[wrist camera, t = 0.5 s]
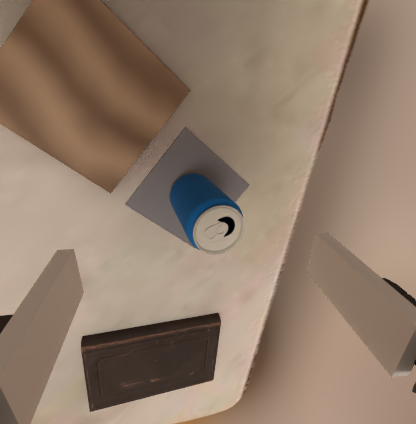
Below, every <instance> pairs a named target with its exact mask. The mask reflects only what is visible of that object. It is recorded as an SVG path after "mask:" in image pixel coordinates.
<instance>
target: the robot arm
mask: <svg viewBox="0 0 416 424" xmlns="http://www.w3.org/2000/svg"><path fill="white" fill-rule="evenodd" d="M307 273H308V274H309V275H310V276H311V278H312V279H313V280H314V281H315V283H316V284H317V285H318V286H319V288H320V289H321V290H322V291H323V293H324V294H325V295H326V296H327V298H328V299H329V300H330V301H331V302H332V304H333V305H334V306H335V307H336V309H337V310H338V311H339V312H340V314H341V315H342V316H343V317H344V319H345V320H346V321H347V322H348V324H349V325H350V326H351V327H352V329H353V330H354V331H355V332H356V334H357V335H358V336H359V337H360V339H361V340H362V341H363V342H364V344H365V345H366V346H367V347H368V349H369V350H370V351H371V352H372V353H373V355H374V356H375V357H376V358H377V360H378V361H379V362H380V363H381V365H382V366H383V367H384V368H385V370H386V371H387V372H388V373H389V375H390V376H391V377H398V376H404V375H409V374H410V372H411V370H412V368H413V366H414V364H415V365H416V301H415V299H414V298H413V297H412V296H411V295H408V294H407V292H405V291H404V290H403V289H402V288H401V287H400V286H398V285H397V284H395V283H393V282H391V281H390V280H388V279H386V278H381V277H380V276H378V275H377V274H376V273H375V272H374V271H373V270H371V269H370V268H369V267H368V266H367V265H365V264H364V263H363V262H362V261H361V260H360V259H358V258H357V257H356V256H355V255H353V254H352V253H351V252H350V251H349V250H348V249H346V248H345V247H344V246H343V245H342V244H341V243H339V242H338V241H337V240H336V239H334V238H333V237H332V236H331V235H330V234H329V233H316V234H315V239H314V243H313V247H312V252H311V256H310V261H309V266H308V270H307ZM83 293H84V291H83V287H82V282H81V278H80V274H79V269H78V265H77V261H76V256H75V252H74V249H68V250H57V252H56V253H55V255H54V256H53V257H52V259H51V260H50V262H49V263H48V265H47V266H46V268H45V269H44V271H43V272H42V274H41V275H40V277H39V278H38V279H37V281H36V282H35V284H34V285H33V287H32V288H31V290H30V291H29V293H28V294H27V296H26V297H25V299H24V300H23V301H22V303H21V304H20V306H19V307H18V309H17V310H16V312H15V313H14V315H4V316H0V424H30V423H31V421H32V419H33V416H34V414H35V411H36V409H37V406H38V404H39V401H40V399H41V396H42V394H43V391H44V389H45V386H46V384H47V382H48V379H49V377H50V374H51V372H52V369H53V367H54V364H55V362H56V359H57V357H58V354H59V352H60V349H61V347H62V344H63V342H64V340H65V337H66V335H67V332H68V330H69V327H70V325H71V322H72V320H73V317H74V315H75V312H76V310H77V307H78V305H79V303H80V300H81V298H82V295H83ZM412 391H413V392H414V393H416V383H415V385H414V386H413V390H412Z"/></svg>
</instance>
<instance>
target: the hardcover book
mask: <svg viewBox="0 0 416 424" xmlns="http://www.w3.org/2000/svg"><path fill="white" fill-rule="evenodd" d="M220 326H221V319H220V316H219V314H218V313H215V314H209V315H204V316H198V317H192V318H186V319H181V320H175V321H169V322H163V323H157V324H152V325H146V326H140V327H134V328H129V329H123V330H117V331H111V332H105V333H100V334H94V335H88V336H83V337H82V341H81V351H82V358H83V365H84V373H85V380H86V387H87V394H88V401H89V408H90V412H91V411H95V410H99V409H103V408H107V407H111V406H115V405H119V404H122V403H126V402H130V401H134V400H138V399H142V398H146V397H150V396H154V395H157V394H161V393H165V392H169V391H173V390H177V389H181V388H185V387H188V386H192V385H196V384H200V383H204V382H208V381H212V380H213V379H214V371H215V364H216V356H217V348H218V341H219V333H220Z"/></svg>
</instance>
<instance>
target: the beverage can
mask: <svg viewBox="0 0 416 424" xmlns="http://www.w3.org/2000/svg"><path fill="white" fill-rule="evenodd" d="M170 202H171V205H172V207H173V209H174V211H175V213H176V215H177V217H178V219H179V221H180V223H181V225H182V227H183V229H184V231H185V233H186V235H187V237H188V239H189V241H190V243H191V244H192V245H193V246H194V247H196V248H197V249H199V250H201V251H203V252H205V253H207V254H213V255H216V254H222V253H225V252H227V251H229V250H231V249H232V248H233V247H235V246H236V245H237V244H238V242H239V241H240V239H241V238H242V235H243V233H244V226H245V225H244V219H243V215H242V212H241V210H240V208H239V206H238V205H237V204H236V203H235V202H234V201H232V200H231V199H230V198H229V197H228V196H227V195H226V194H225V193H223V192H222V191H221V190H220V189H219V188H218V187H217V186H215V185H214V184H213V183H212V182H211V181H210V180H209V179H208V178H206V177H205V176H203V175H200V174H187V175H185V176H183V177H181V178H179V179H178V180H177V181H176V182H175V183H174V185H173V187H172V189H171V192H170Z"/></svg>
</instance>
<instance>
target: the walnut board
mask: <svg viewBox="0 0 416 424" xmlns="http://www.w3.org/2000/svg"><path fill="white" fill-rule="evenodd" d="M189 91H190V90H189V89H188V88H187V87H186V86H185V85H184V84H183V83H182V82H181V81H180V80H179V79H178V78H177V77H176V76H175V75H174V74H173V73H172V72H171V71H170V70H169V69H168V68H167V67H166V66H165V65H164V64H163V63H162V62H161V61H160V60H159V59H158V58H157V57H156V56H155V55H154V54H153V53H152V52H151V51H150V50H149V49H148V48H147V47H146V46H145V45H144V44H143V43H142V42H141V41H140V40H139V39H138V38H137V37H136V36H135V35H134V34H133V33H132V32H131V31H130V30H129V29H128V28H127V27H126V26H125V25H124V24H123V23H122V22H121V21H120V20H119V19H118V18H117V17H116V16H115V15H114V14H113V13H112V12H111V11H110V10H109V9H108V8H107V7H106V6H105V5H104V4H103V3H102V2H101V1H100V0H33V1H32V2H31V4H30V5H29V7H28V8H27V10H26V11H25V13H24V14H23V16H22V17H21V19H20V20H19V22H18V23H17V25H16V26H15V28H14V29H13V31H12V32H11V34H10V35H9V37H8V38H7V40H6V41H5V43H4V44H3V46H2V48H1V49H0V124H2V125H3V126H5V127H6V128H8V129H10V130H11V131H13V132H14V133H16V134H18V135H19V136H21V137H22V138H24V139H25V140H27V141H29V142H30V143H32V144H33V145H35V146H37V147H38V148H40V149H41V150H43V151H44V152H46V153H48V154H49V155H51V156H52V157H54V158H56V159H57V160H59V161H60V162H62V163H64V164H65V165H67V166H68V167H70V168H71V169H73V170H75V171H76V172H78V173H79V174H81V175H83V176H84V177H86V178H87V179H89V180H90V181H92V182H94V183H95V184H97V185H98V186H100V187H102V188H103V189H105V190H106V191H108V192H110V193H111V192H112V191H113V190H114V188H115V187H116V186H117V185H118V183H119V182H120V181H121V179H122V178H123V177H124V175H125V174H126V173H127V172H128V170H129V169H130V168H131V166H132V165H133V164H134V163H135V161H136V160H137V159H138V157H139V156H140V155H141V154H142V152H143V151H144V150H145V148H146V147H147V146H148V144H149V143H150V142H151V141H152V139H153V138H154V137H155V135H156V134H157V133H158V132H159V130H160V129H161V128H162V126H163V125H164V124H165V122H166V121H167V120H168V119H169V117H170V116H171V115H172V113H173V112H174V111H175V110H176V108H177V107H178V106H179V104H180V103H181V102H182V101H183V99H184V98H185V97H186V95H187V94H188V93H189Z"/></svg>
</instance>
